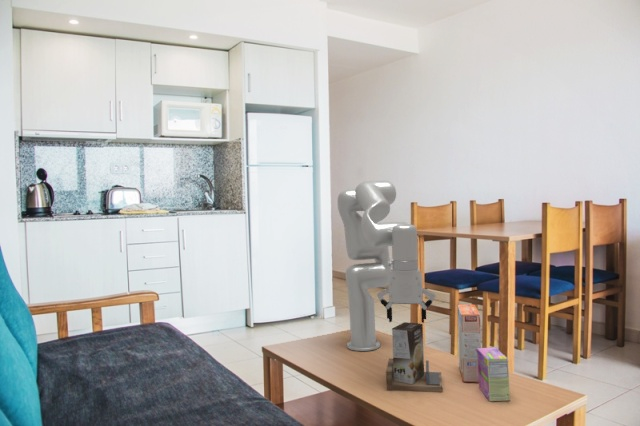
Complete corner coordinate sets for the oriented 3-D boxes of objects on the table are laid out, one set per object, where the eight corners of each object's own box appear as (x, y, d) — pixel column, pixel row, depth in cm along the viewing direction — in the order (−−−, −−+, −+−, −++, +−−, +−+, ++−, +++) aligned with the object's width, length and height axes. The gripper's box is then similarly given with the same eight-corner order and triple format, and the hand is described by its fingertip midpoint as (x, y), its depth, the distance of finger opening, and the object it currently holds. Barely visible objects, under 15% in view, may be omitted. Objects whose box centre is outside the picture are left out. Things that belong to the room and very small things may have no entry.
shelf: (389, 375, 161) (389, 358, 160) (441, 377, 157) (440, 359, 157) (386, 390, 149) (386, 371, 149) (442, 392, 146) (441, 373, 145)
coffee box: (413, 385, 148) (411, 330, 147) (393, 381, 151) (391, 328, 151) (424, 375, 156) (423, 323, 155) (405, 371, 159) (403, 321, 159)
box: (478, 387, 148) (476, 347, 148) (497, 387, 148) (496, 347, 147) (488, 402, 138) (487, 359, 137) (510, 401, 137) (508, 358, 137)
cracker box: (483, 383, 151) (480, 314, 150) (462, 382, 152) (459, 313, 151) (478, 367, 165) (476, 303, 164) (459, 366, 166) (456, 303, 165)
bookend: (426, 373, 157) (425, 360, 157) (438, 373, 156) (438, 360, 156) (426, 385, 147) (426, 371, 147) (439, 385, 147) (439, 372, 146)
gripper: (375, 267, 150) (376, 324, 151) (434, 267, 147) (436, 325, 148) (377, 263, 158) (379, 317, 159) (434, 263, 154) (435, 318, 155)
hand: (406, 321), depth 153 cm, fingers open, 9 cm apart
